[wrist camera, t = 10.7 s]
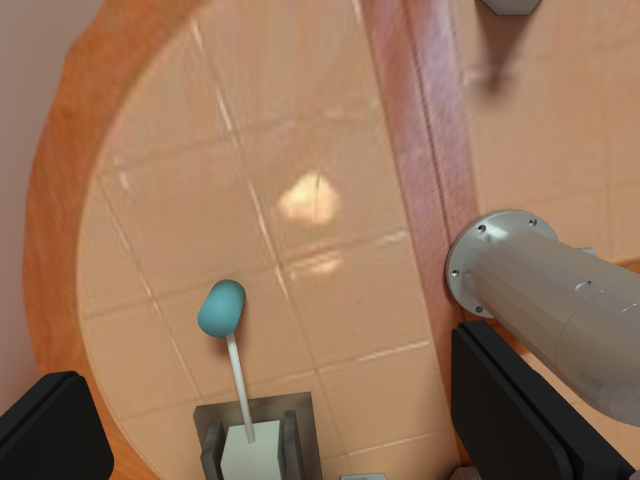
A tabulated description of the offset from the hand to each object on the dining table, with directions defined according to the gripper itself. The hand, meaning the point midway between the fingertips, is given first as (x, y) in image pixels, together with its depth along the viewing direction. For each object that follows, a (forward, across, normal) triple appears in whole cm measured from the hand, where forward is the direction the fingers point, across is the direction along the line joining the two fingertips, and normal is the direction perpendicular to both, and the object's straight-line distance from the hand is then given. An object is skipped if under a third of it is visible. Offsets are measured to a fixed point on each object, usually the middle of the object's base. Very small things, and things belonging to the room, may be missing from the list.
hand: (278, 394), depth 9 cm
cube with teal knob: (+26, +8, +20) cm, 34 cm away
